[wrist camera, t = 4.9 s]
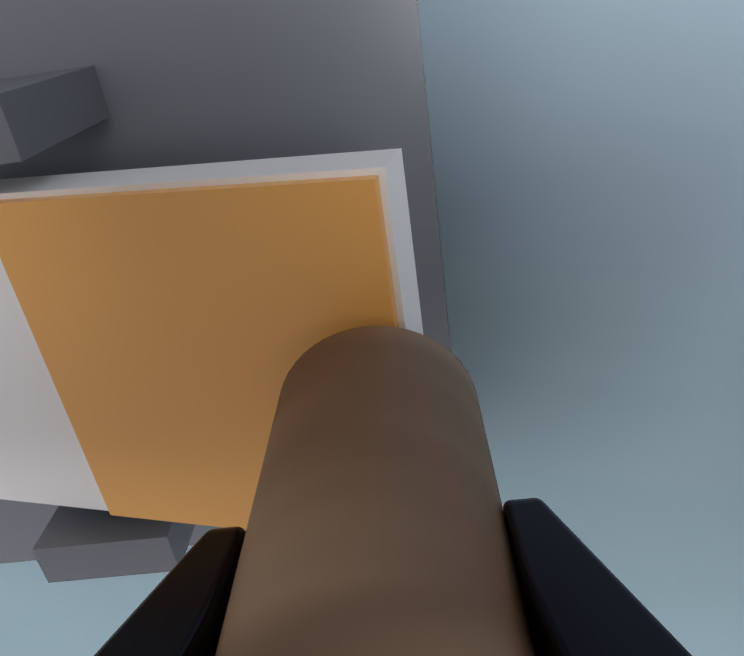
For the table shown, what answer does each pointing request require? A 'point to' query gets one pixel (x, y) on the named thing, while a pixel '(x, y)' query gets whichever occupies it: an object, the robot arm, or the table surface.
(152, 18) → the grey square block
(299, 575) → the walnut cylinder
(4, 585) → the table surface
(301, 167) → the white and orange panel
